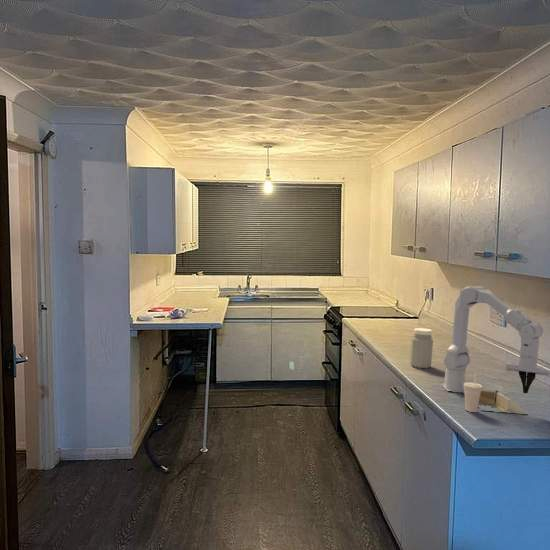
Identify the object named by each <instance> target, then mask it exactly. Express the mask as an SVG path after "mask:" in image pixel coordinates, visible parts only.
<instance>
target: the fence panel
mask: <svg viewBox="0 0 550 550" xmlns="http://www.w3.org/2000/svg"><path fill="white" fill-rule="evenodd" d="M510 399H511V398H508V397H507V396H505V395H503V394H502V393H501V392H498V393H497V396H496V403H497V404H498V405H500V406H501V407H503V408H504V409H506V410H507V411H510Z"/></svg>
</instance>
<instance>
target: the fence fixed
mask: <svg viewBox="0 0 550 550" xmlns="http://www.w3.org/2000/svg"><path fill="white" fill-rule="evenodd" d="M497 393H499V390H495V391H487V390H481V393H480V398H479V402H489V403H494V399H495V403H496V396H497Z"/></svg>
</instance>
